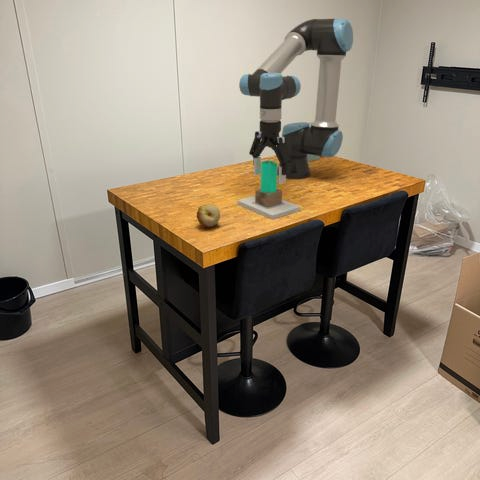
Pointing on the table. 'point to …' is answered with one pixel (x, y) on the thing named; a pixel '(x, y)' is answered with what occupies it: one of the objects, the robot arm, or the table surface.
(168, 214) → the table surface
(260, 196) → the walnut block
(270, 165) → the candle
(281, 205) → the slab
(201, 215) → the fruit
